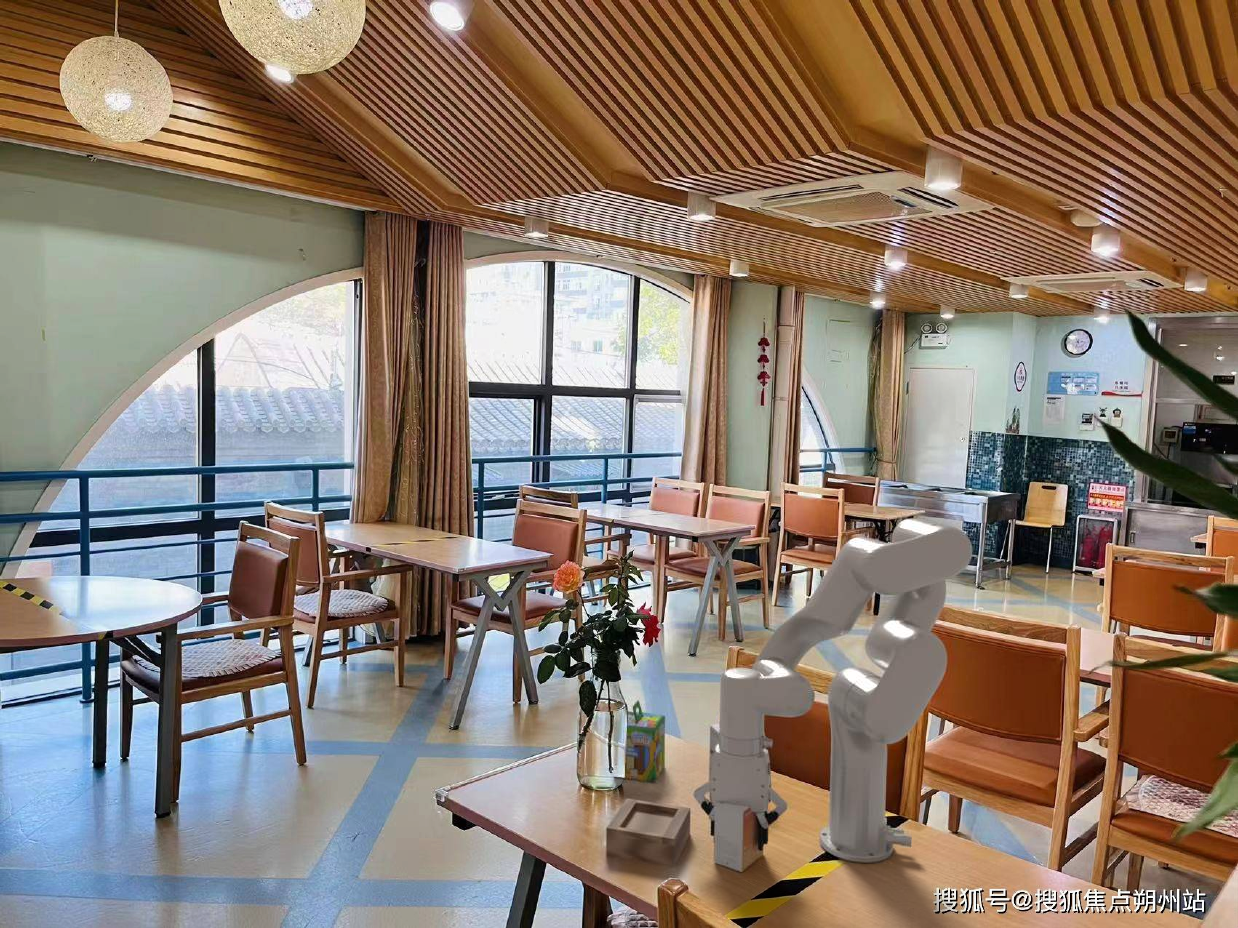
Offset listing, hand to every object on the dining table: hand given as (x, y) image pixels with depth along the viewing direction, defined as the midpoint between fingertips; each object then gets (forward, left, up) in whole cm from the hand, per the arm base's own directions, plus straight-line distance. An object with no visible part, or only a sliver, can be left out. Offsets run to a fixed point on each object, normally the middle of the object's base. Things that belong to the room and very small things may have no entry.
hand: (739, 842), depth 154 cm
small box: (0, 0, -3) cm, 3 cm away
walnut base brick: (+16, 0, -3) cm, 16 cm away
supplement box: (+6, -27, -3) cm, 28 cm away
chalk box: (+26, -29, -3) cm, 39 cm away
